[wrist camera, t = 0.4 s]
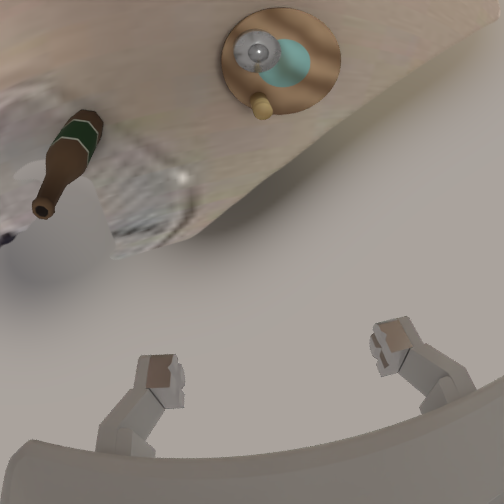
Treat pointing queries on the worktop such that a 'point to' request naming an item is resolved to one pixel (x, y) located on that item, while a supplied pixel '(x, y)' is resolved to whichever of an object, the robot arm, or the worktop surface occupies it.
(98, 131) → the beer bottle
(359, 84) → the worktop surface
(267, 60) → the cover
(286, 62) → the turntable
